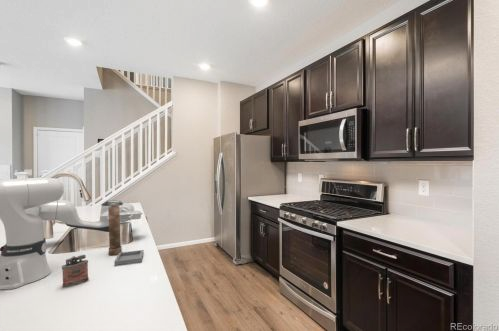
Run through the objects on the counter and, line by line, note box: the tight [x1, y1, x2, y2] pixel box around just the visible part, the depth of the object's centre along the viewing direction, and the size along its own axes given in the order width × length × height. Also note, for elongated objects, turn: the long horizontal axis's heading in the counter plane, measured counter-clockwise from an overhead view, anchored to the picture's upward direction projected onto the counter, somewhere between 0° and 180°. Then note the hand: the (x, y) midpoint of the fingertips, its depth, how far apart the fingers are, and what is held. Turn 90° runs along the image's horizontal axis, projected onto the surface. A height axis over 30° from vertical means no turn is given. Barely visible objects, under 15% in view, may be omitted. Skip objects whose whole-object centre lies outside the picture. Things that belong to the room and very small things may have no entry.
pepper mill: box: [108, 203, 123, 256], centre depth 121 cm, size 6×6×25 cm
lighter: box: [61, 254, 90, 289], centre depth 93 cm, size 8×3×10 cm, turn 131°
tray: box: [113, 249, 144, 267], centre depth 114 cm, size 11×11×2 cm
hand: (119, 219), depth 133 cm, fingers open, 8 cm apart
